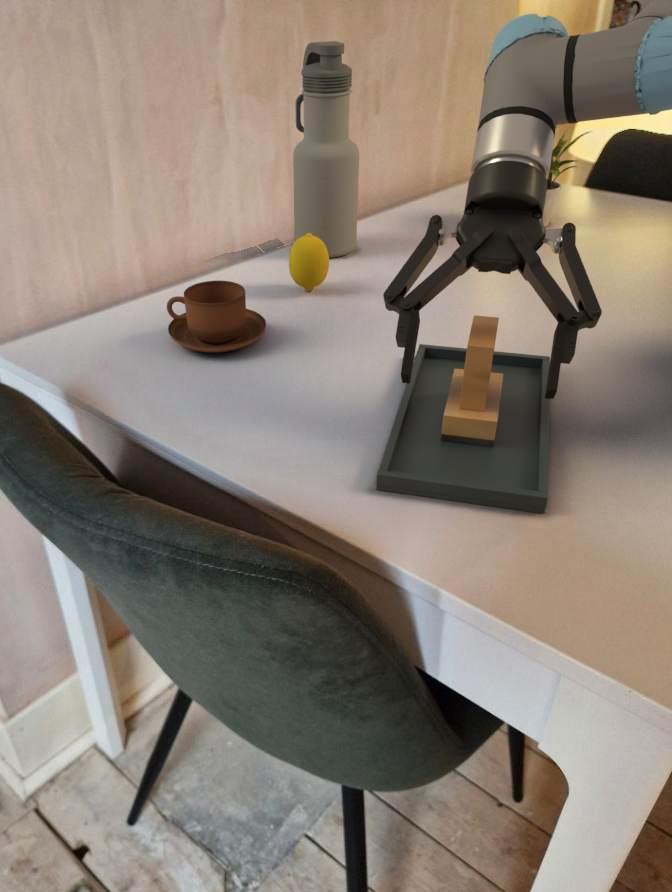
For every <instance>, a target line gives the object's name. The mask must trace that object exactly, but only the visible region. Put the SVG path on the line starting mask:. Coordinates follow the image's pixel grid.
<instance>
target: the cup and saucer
mask: <svg viewBox="0 0 672 892" xmlns="http://www.w3.org/2000/svg"><path fill="white" fill-rule="evenodd" d="M246 299H247V298H246V289H245V287H244V286H243V285H242V284H240V283H237V282H234V281H229V280H207V281H203V282H202V281H201V282H198V283H194V284H192V285H189V286H188V287H187V288H186V289H184V292H183V296H180V295H179V296H178V295H177V296H172V297H171V298H169V300H168V301H167V303H166V311H167V314H168V315H169V316H170V317H171V318H172V320H171V321H170V322H169V324H168V326H167V331H168V334H169V336H170V338H171V340H173V342H175V343H177V344H178V345H179V346H181V347H182V348H185V349H188V350H191V351H195V352H201V353H224V352H225V353H226V352H232V351H236V350H239V349H243V348H246V347H248V346H250V345H252V344H253V343H255V342H256V341H258V340H259V339H260V338H261V337H262V336H263V335H264V333H265V331H266V327H267V322H266V319H265V318H264V316H263V315H261V314H260V313H258V312H257V311H255V310H252V309H249V308H247V305H246V304H247V303H246ZM175 303H181V304H183V305H184V308H185V312H184V313H181V314H177V313H176V312H175V311H174V310H173V304H175Z"/></svg>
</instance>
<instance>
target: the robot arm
mask: <svg viewBox="0 0 672 892" xmlns="http://www.w3.org/2000/svg"><path fill="white" fill-rule="evenodd" d="M483 77H484V78H483V83H484V84H483V90H482V97H481V105H480V112H479V117H478V124H477V125H478V126H477V130H476V135H475V140H474V146H473V153H472V159H471V165H470V177H469V179H468V183H467V184H468V185H467V191H466V196H465V203H464V209H463V215H462V217H461V219H460V220H459V222H458V223H456V222H450V221H444V220H443V218H442V217H443V216H441V215H439V214H434V215H432V216H431V217H430V218H429V222H428V225H427V228H426V232H425V235H424V236H423V238H422V240H421V241H420V242H419V244H418V245H417V246H416V247H415V249H414V251H412V253H411V254H410V256H409V257H408V259H407V260H406V261H405V263H404V264H403V266H402V267H401V268H400V270H399V271H398V272H397V274H396V276H395V277H394V278H393V279H392V281H391V282H390V284H389V285H388V286H387V288H386V289H385V290H384V291H383V295H382V296H383V297H382V298H383V303H384V307H385V309H386V310H387V311H389V312H395V313H396V314H398V319H397V325H396V330H395V342H396V347H397V348H403V349H404V351H403V356H402V363H401V368H400V369H401V370H400V378H401V383H402V384H407V383H408V384H410V379H411V373H412V367H413V363H414V360H415V356H416V349H417V344H418V343H417V342H418V336H419V330H420V323H421V318H420V311H421V310H422V309H423V308H424V307H425V306H427V304H429V303H430V302H431V301H432V300H433V299H434V298H436V297H437V296H438V295H440V293H442V291H444V290H445V289H446V288H447V287H449V285H451V284H452V283H453V282H454V281H455V280H457V279H458V278H459V277H462V276H463V275H465V274H466V273H467V272H468V271H470V269H472V267H473V268H474V269H476V270H477V272H479V273H489V272H491V273H492V272H497V273H500V274H505V275H510V274H512V272H516V271H518V273H519V274H520V275H521V276H522V278H523V279H524V280H525V281H526V282H527V283H529V285H530V286H531V287H532V289H533V290H534V291H535V293H536V294H537V296H538V297H539V298H540V301H542V303H543V304H544V305H545V307H546V308H547V309H548V311H549V312H550V314H551V315H552V316H553V317H554V319H555V320H556V322H557V324H556V327H555V330H554V333H553V339H552V345H551V352H550V366H549V373H548V380H547V387H546V394H545V398H546V399H549V400H554V398H555V396H556V394H557V392H558V387H559V380H560V371H561V366H562V364H566V365H570V364H571V362H572V361H573V359H574V357H575V354H576V347H577V340H578V333H579V331H580V330H583V329H593V328H595V327H596V326H597V324H598V322H599V320H600V318H601V316H602V314H603V311H602V308H601V304H600V302H599V300H598V298H597V295H596V292H595V290H594V288H593V285H592V283H591V280H590V278H589V275H588V273H587V269H586V267H585V265H584V263H583V260H582V258H581V255H580V253H579V250H578V248H577V245H576V242H577V239H576V238H577V228H576V227H577V226H576V225H575V224H574V223H573V222H566V223H565V224H563V226H562V227H561V228H545V227H544V225H543V221H542V220H543V212H544V206H545V199H546V192H547V185H548V183H547V179H548V176H549V172H550V165H551V158H552V152H553V149H554V144H555V136H556V130H557V128H556V127H558V126H560V125H562V126H563V125H568V124H578V123H581V122H589V121H597V120H605V119H614V118H621V117H622V118H623V117H631V116H638V115H647V114H649V116H653V115H658V114H660V113H661V112H665V111H671V110H672V0H652V1H651V2H650V3H649V4H648V5H646V6H645V7H644V8H643V9H642V10H641V11H640V12H638V13H637V14H636V15H634V16H633V17H632V18H631V19H629V21H628V22H626V24H624V25H621V26H617V27H612V28H608V29H603V30H599V31H594V32H588V33H585V34H575V35H572V34H571V35H569V33H568V30H567V28H566V27H565V25H564V24H563V22H562V21H560V20H559V19H558V18H556V17H554V16H552V15H546V16H539V15H538V13H526V14H522V15H520V16H517V17H515V18H512V19H511V20H510V21H508V22H507V23H505V24H504V25H503V26H502V27H501V28H500V30H499V31H498V32H497V33H496V35H495V38H494V39H493V42H492V45H491V50H490V54H489V58H488V62H487V66H486V68H485V71H484V76H483ZM451 238H455V241H456V242H457V244H458V247H457V248H456V249H455V250H454V251H453V252H452V254H451V255H450V257H449V258H447V260H445V261H444V262H442V264H441V265H439V266H438V267H437V268H436V269H435V270H434V271H433V272H432V273H430V274H429V275H428V276H427V277H426V278H425V279H423V280H422V282H420V283H418V284H417V286H416V287H414V288H413V289H412V290H411V288H412V287H413V285H415V283H416V281H417V280H418V279H419V277H420V276H421V275H422V273H423V272H424V270H426V268H427V266H428V265H429V263H430V262H431V261H432V259H433V258H434V257H435V255H436V253H437V251H438V249H439V247H440V246H441V247H443V246H444V245H446V244H447V243H448V241H449V240H451ZM544 244H546V245H548V246H549V247H550V249H551V252H552V253H554V254H555V255H558V260H559V265H560V268H561V270H562V272H563V275H564V278H565V280H566V283H567V285H568V288H569V290H570V293H571V295H572V298H573V301H574V303H575V306H576V307H575V306H574V305H573V303H572V302H571V300H570V299H569V298H568V296H567V294H565V292H564V291H563V289H562V288H561V287H560V286H559V283H557V281H556V279H554V277H553V275H552V274H551V272H549V270H548V269H547V268H546V266H545V265H544V264H543V262H542V258H541V256H540V254H539V253H538V251H539V250H540V249H541V247H542V246H543V245H544Z"/></svg>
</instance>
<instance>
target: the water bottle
mask: <svg viewBox="0 0 672 892" xmlns="http://www.w3.org/2000/svg"><path fill="white" fill-rule="evenodd" d="M344 54H345V43H344V42H339V41H337V40H336V41H335V40H330V41H329V40H327V41H315V42H313V41H312V42H309V43H308V44H307V45H306V47H305V50H304V54H303V60H302V69H301V77H302V78H301V80H302V84H301V85H302V86H301V87H302V89H301V94H299V95H298V96H297V97H296V99H295V127H296V129H297V131H299V132H300V133H303V138H302V140H300V141H299V142H298V143H297V144H296V146H295V147H294V149H293V152H292V168H293V169H292V171H293V174H292V175H293V178H292V179H293V229H294V230H293V231H294V233H293V234H294V236H293V237H294V243H295V242H296V240H298V239H299V238H300V237H302V236H305V235H306V234H307V233H311V234H312V235H313V236H316V237H318V238H319V239H320V240H322V241H323V243H324V244H325V246H326V248H327V251H328V256H329V259H333V258H334V259H335V258H339V257H343V256H345V255H348V254H350V253H352V252H353V251H354V250H355V248H356V246H357V239H358V238H357V237H358V208H359V207H358V206H359V204H358V203H359V180H360V179H359V176H360V175H359V174H360V150H359V148H358V146H357V144H356V143H355V142H354V141H353V140H352V139H351V138H350V137H349V136H350V99H351V98H350V96H351V95H350V94H351V93H352V89H351V88H352V85H353V82H352V80H353V78H352V77H353V75H352V74H353V69H352V67H351V66H349V65H348V64H346V63H343V57H342V56H343V55H344ZM302 103H303V124H302V119H301V116H302V115H301V113H302V112H301V107H302Z"/></svg>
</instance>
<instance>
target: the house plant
mask: <svg viewBox="0 0 672 892" xmlns="http://www.w3.org/2000/svg"><path fill="white" fill-rule="evenodd" d="M557 128H558V126H556V129H557ZM567 132H568V128H566V130H565V131H564V132H563V134H562V135H561V137H560V138H559V139H558V142H557V144H556V145H555V146H554V147H553V152H552V158H551V165H550V172H549V176H548V179H547V183H548V185H547V192H546V199H545V206H544V212H543V220H542V221H543V225H544V227H548V226H549V223H550V220H551V218H552V214H553V212H554V209H555V206H556V203H557V200H558V197H559V194H560V191H561V189H562V185H561V183H559V182H558V181H556V180H557V178H558V177H559V176H560V175H561V174H562V173H563V172H565V171H567V170H569V169H572V168H573V169H574V168H578V166H577V165H571V166H568V167H566V168H564V169H563V170H560V168H561V167H562V166H564V165H566V164H569V163H570V164H571V163H573V162H574V163H576V162H579V160H575V159H565V160H561V159H560V158H561V157H562V156H563V154H564V153H565V152H566V151H567V150H569V148H570V147H571V146H573V145H574V144H575V143H576V142H577V141H579V139H581V138H582V137H583V136H585V135H587V134H590V133H592V132H593V130H591V131H587V132H583V133H582V134H579V135H578V136H577V137H575V138H574V139H573V140H572V141H571V142H569V143H568V141H570V140H571V138H568V139H565V137H566V134H567ZM567 143H568V144H567ZM566 144H567V145H566ZM565 145H566V146H565ZM553 177H554V178H553Z"/></svg>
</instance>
